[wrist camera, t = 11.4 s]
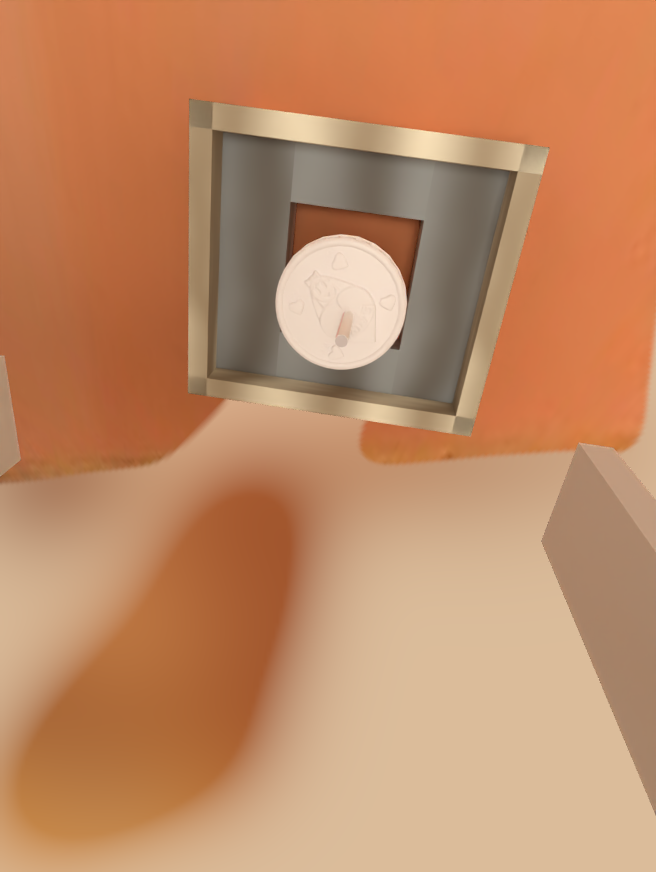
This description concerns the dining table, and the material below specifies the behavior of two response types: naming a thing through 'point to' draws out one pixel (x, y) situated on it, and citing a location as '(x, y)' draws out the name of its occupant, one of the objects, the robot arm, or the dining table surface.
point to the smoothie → (341, 302)
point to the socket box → (365, 192)
